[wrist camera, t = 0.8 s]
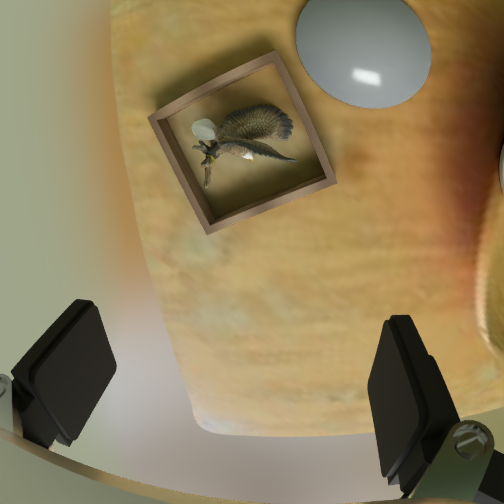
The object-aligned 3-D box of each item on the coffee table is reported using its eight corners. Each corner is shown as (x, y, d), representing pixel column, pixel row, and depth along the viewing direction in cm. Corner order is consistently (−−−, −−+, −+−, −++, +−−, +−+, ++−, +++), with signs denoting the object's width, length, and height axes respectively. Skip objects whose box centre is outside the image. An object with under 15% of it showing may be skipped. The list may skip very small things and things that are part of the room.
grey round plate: (390, -24, 21) (392, -28, 20) (447, 88, 26) (450, 88, 25) (272, 10, 25) (271, 7, 25) (331, 127, 30) (332, 127, 29)
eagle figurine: (226, 198, 34) (307, 175, 30) (183, 180, 27) (277, 146, 23) (220, 137, 35) (293, 110, 31) (181, 110, 29) (263, 73, 25)
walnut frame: (278, 54, 28) (276, 49, 25) (335, 178, 32) (337, 183, 30) (157, 116, 32) (147, 117, 30) (213, 227, 37) (206, 235, 34)
